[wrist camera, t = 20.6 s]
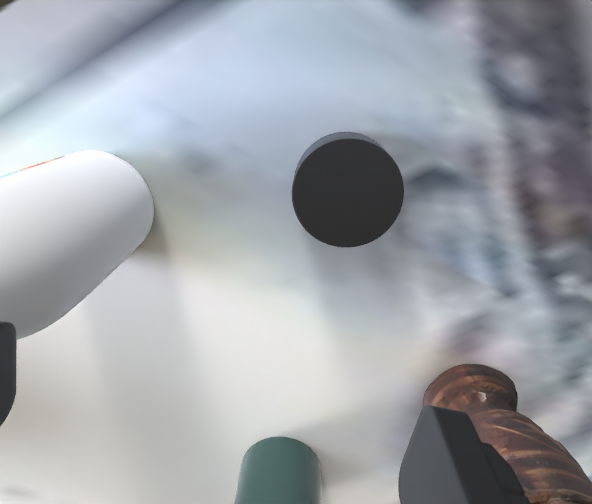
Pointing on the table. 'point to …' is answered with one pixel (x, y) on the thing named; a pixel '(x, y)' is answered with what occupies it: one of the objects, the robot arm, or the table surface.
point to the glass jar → (279, 474)
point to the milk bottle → (66, 233)
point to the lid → (347, 190)
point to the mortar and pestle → (512, 433)
